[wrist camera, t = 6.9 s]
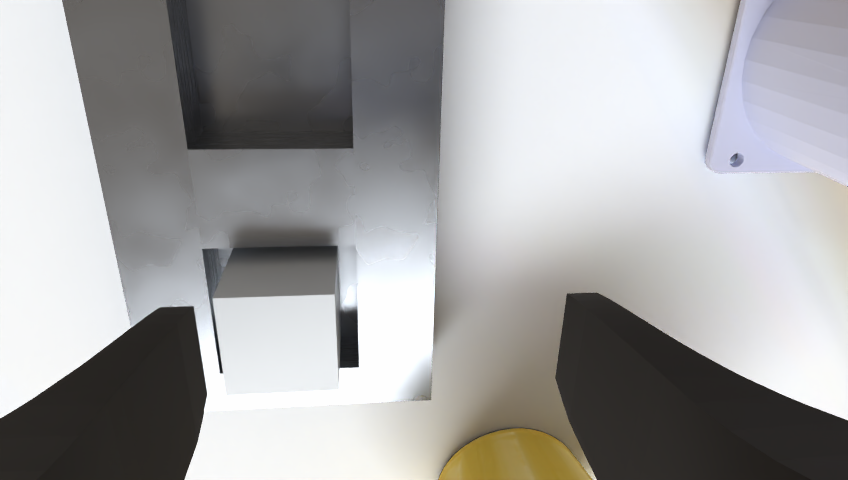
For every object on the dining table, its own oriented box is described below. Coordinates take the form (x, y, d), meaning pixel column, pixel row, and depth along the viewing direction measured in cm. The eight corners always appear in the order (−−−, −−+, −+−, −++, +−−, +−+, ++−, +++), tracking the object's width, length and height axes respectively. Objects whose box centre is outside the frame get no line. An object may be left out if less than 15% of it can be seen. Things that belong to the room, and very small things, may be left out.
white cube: (337, 237, 22) (334, 294, 18) (341, 321, 23) (339, 389, 20) (236, 240, 21) (212, 298, 18) (246, 325, 23) (226, 395, 19)
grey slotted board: (446, -461, 15) (463, -535, 13) (423, 359, 25) (430, 399, 23) (5, -504, 14) (-63, -593, 11) (168, 370, 24) (149, 413, 22)
